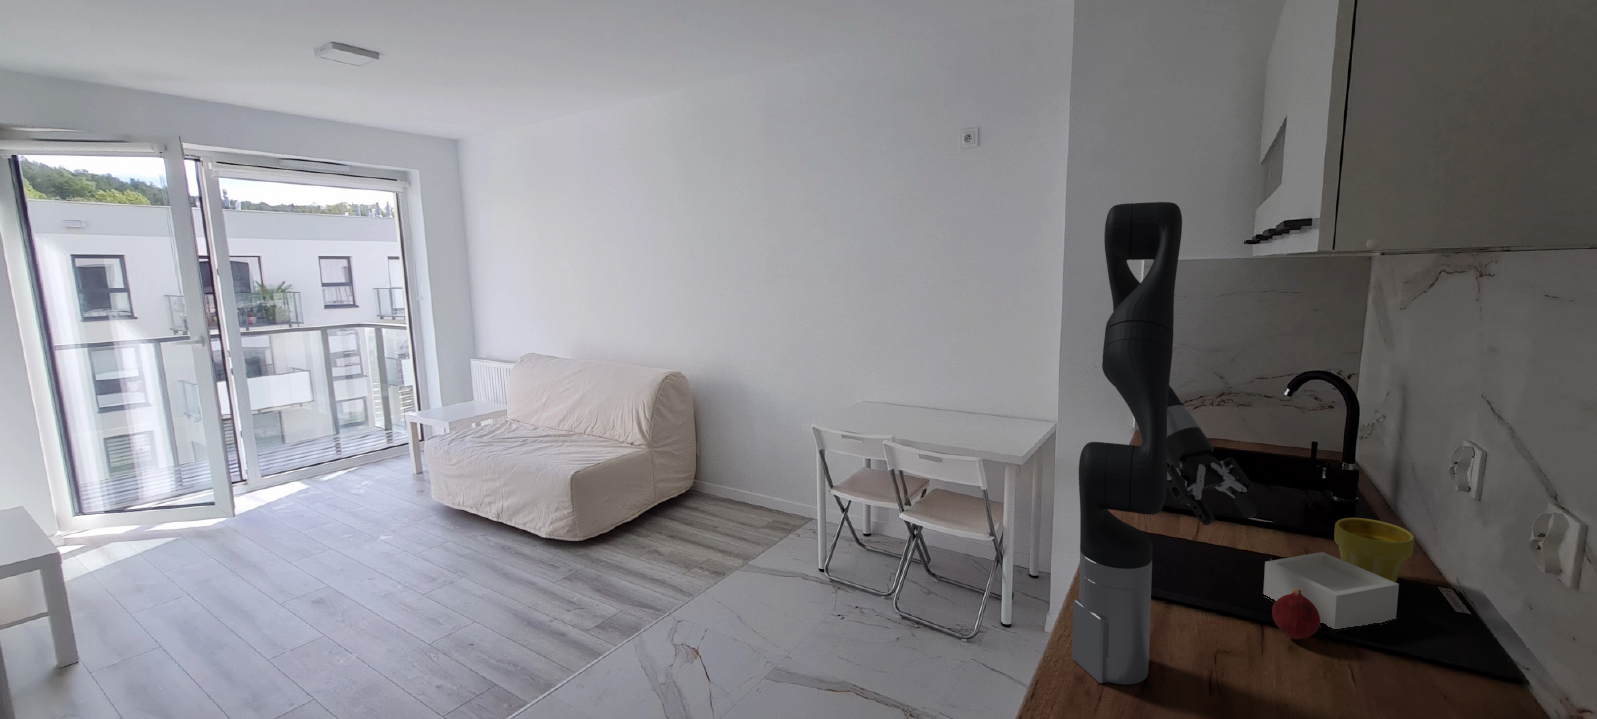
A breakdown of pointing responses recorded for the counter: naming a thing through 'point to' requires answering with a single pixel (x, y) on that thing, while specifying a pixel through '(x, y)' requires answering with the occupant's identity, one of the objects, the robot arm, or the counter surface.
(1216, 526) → the counter surface
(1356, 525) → the plant pot
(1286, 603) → the onion
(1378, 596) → the tray
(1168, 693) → the counter surface
